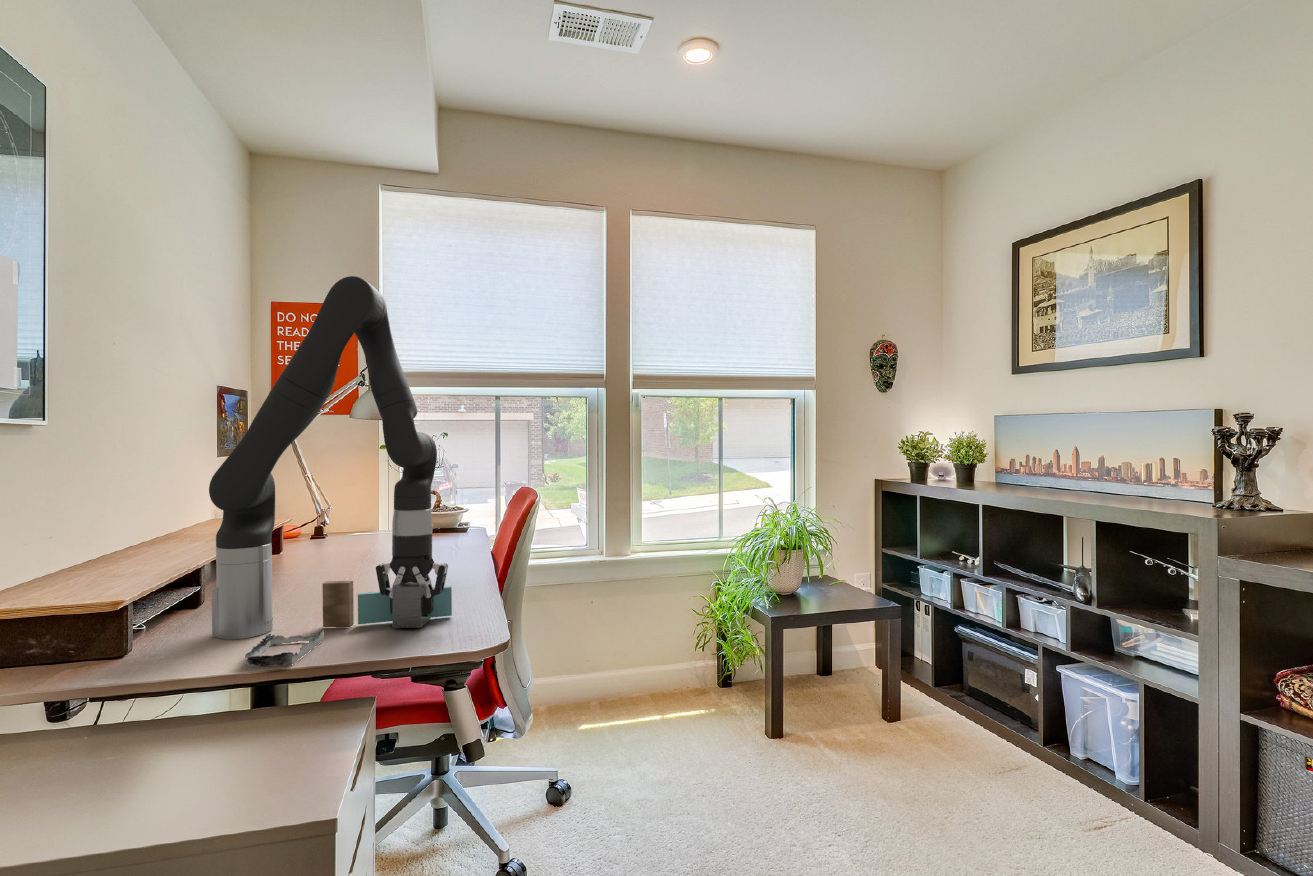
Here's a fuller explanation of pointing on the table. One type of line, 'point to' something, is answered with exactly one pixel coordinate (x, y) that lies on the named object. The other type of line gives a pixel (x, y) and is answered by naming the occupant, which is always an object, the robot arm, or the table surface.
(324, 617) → the wall frame
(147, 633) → the table surface
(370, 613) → the door
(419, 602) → the block
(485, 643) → the table surface
